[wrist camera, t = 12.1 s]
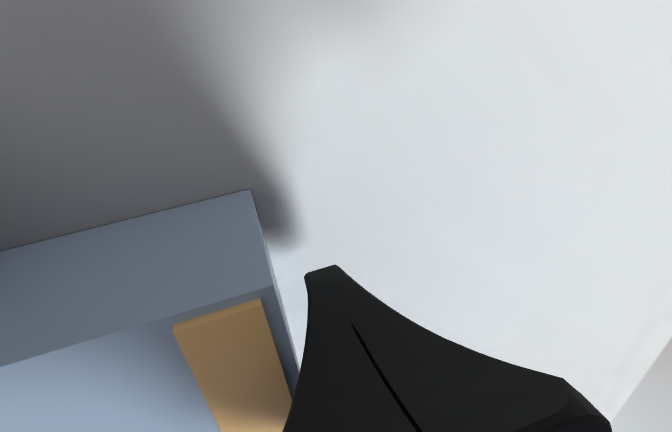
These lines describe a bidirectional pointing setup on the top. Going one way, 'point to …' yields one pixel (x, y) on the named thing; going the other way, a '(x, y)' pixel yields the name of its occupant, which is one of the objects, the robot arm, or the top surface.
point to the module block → (147, 327)
